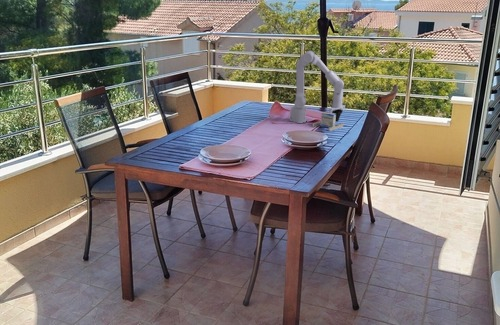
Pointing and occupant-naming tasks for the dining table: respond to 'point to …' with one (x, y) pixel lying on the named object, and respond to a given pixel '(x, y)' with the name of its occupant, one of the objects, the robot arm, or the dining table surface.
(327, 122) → the medicine box
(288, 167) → the dining table surface
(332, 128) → the parallel bars
